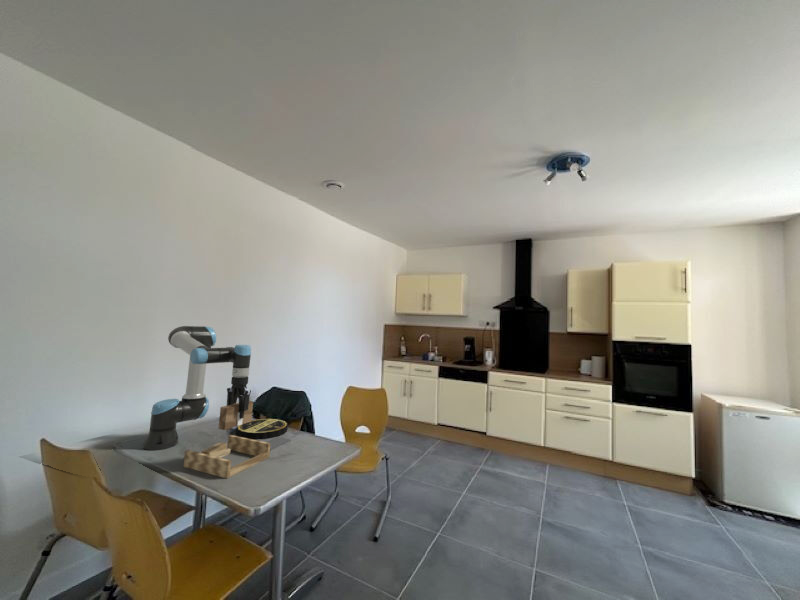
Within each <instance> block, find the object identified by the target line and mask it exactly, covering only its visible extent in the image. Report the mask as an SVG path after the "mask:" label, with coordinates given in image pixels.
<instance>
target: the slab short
mask: <svg viewBox="0 0 800 600" xmlns="http://www.w3.org/2000/svg"><path fill="white" fill-rule="evenodd" d="M227 447H228V443H226V442H218V443H216V444H214V445H211V446H210V447H208V448H205V449H203V450H201V452H200V453H203V454H207V455H211V456H215V455H217V454H219V453H221V452H223V451H225V450H227Z"/></svg>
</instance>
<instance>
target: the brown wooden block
mask: <svg viewBox="0 0 800 600" xmlns="http://www.w3.org/2000/svg"><path fill="white" fill-rule="evenodd" d="M253 406H254V401H252V400H249V405H248V410H246V411H244V417H243V421H242V424H245V423H248V422H251V421H252V420H253V408H254V407H253ZM219 408H220V409H219V418H218V419H219V420H218V430H222V431H226V430H230V429H232V428H233V429H234V428H235V427H236V428H237V427H238V426H237V415H238V411H239V402H236V403H235V404H231V405H227V404H226V405H224V406H220V407H219Z"/></svg>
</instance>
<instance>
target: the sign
mask: <svg viewBox="0 0 800 600" xmlns="http://www.w3.org/2000/svg"><path fill="white" fill-rule="evenodd" d="M288 426H289V423H288V422H287V421H285V420H283V419H278V418H260V419H252V421H251V422H248V423H245V424H242V425H239V426H236V431H235V432H236V433H235V434H236V436H238V437H243V438H248V439H253V440H257V441H259V440H267V439H268V440H270V439H274V438H276V437H281V436H283V435H285V434H286V433H287V432H288V429H289V428H288Z"/></svg>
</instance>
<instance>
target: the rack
mask: <svg viewBox="0 0 800 600" xmlns="http://www.w3.org/2000/svg"><path fill="white" fill-rule="evenodd" d="M227 448H229V449H231V450H230V451H233V452H237V453H238V452H239V453H243V454H247V455H250V456H252V457H251V458H250V459H247V460H244V461H243V462H241V463H238V464H236V465H234V466H232V460H230V459H226V458H223V457H221V458H219V457H215V456H211V455H207V454H203V453H201V452H198V451H194V450H190V449H187V450H185V451H184V459H183V468H188V469H191V470H194V471H198V472H202V473H205V474H209V475H213V476H217V477H220V478H224V479H229V478H230V477H233V476H235V475H236V474H238V473H241V472H243V471H245V470H247V469H249V468H251V467H253V466H256V465H257V464H259V463H261V462H263V461H265V460H267V459H269V458H270V452H271V450H270V443H267V441H261V440H253V439H248V438H243V437H238V436H237V435H234V434H233V435H232V434H229V435H228V439H227ZM231 466H232V467H231Z"/></svg>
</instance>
